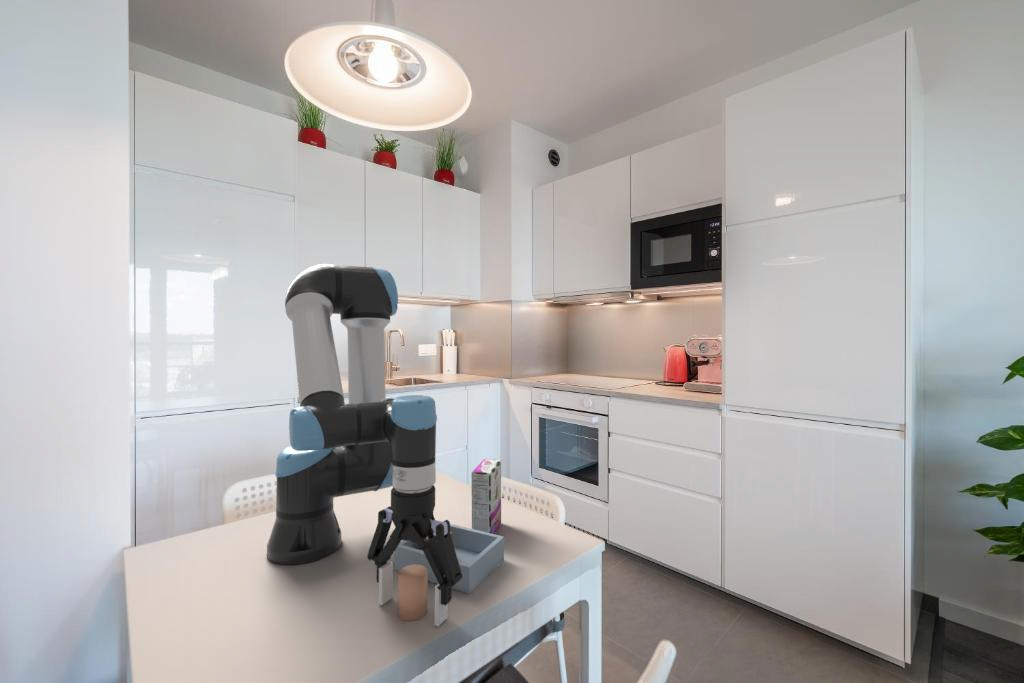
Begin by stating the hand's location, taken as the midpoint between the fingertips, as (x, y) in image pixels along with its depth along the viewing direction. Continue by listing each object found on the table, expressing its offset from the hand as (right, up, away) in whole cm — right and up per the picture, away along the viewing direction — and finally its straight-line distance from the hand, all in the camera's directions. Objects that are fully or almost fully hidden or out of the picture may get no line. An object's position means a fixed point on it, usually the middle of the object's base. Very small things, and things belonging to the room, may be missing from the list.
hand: (412, 610), depth 76 cm
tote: (+4, 0, +16) cm, 16 cm away
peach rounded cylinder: (0, 0, 0) cm, 0 cm away
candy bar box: (+11, 0, +31) cm, 33 cm away
